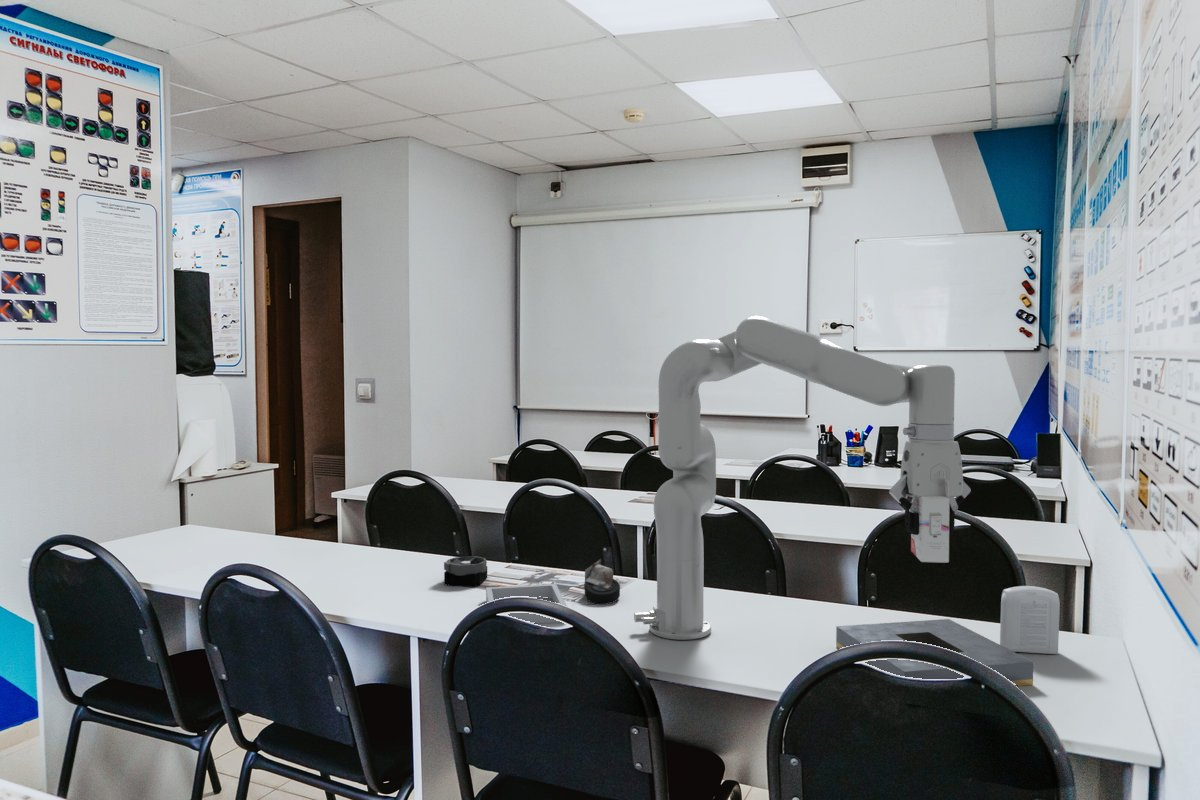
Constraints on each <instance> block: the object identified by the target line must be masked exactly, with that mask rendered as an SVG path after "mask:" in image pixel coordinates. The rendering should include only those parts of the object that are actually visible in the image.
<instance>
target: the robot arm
mask: <svg viewBox="0 0 1200 800" xmlns="http://www.w3.org/2000/svg"><path fill="white" fill-rule="evenodd" d="M762 364H763V365H766V366H768V367H772V368H774V369H777V370H780V371H783V372H786V373H789V374H790V375H793V376H796V377H798V378H802V379H804V380H806V381H809V382H811V383H812V384H813V383H814V384H818V385H820V386H824V387H826V388H829V389H832V390H834V391H837V392H840V393H841V394H844V395H847V396H850V397H853V398H856V399H857V400H861V401H862V402H863V401H864V402H866V403H869V404H872V405H875V406H880V407H889V406H892V405H896V404H901V403H903V404H904V403H908V424H907V425H908V426H907V427H903V429H902V433H903V435H905V436H907V438H908V440H905V443H904V447H903V451H902V457H901V466H900V475H899V476H900V477H899V479H898V480H897V481H896V483H894V484H893V486H892V487H891V488H890V489H889V490H888V493H889V495H890V496H891V497H892V498H893V499H894V500H895V501H896V503H898V505H899V506H900V507H901V509H902V510H903V511H904V528H905V532H906V533H909V534H910V535H911V534H913V535H918V534H919V513H917V512H916V510H917V507H918V505H919V498H921V497H925V496H945V497H946V490H945V480H944V479H946V480H948V488H949V502H950V504H949V534H954V532H955V530H954V529H955V525H956V524H955V523H956V522H955V518H956V516H955V514H956V513H955V512H957V511H958V509H959V507H960V505H961V504H962V503H963V502H964V501H965V499H966V497H967V496H968V495H970V493H971V492H972V491H971V487H970V486H969V485H968V484H967V483H966V482H965V481H964V475H963V474H964V471H963V460H962V454H961V450H960V445H959V442H958V441H955V434H954V433H955V424H954V423H955V390H956V389H955V384H956V383H955V381H956V380H955V379H956V376H955V374H956V373H955V370H954V368H953V367H952V366H950V365H944V364H941V365H940V364H923V365H921V364H920V365H915V366H908V365H901V364H900V365H899V364H893V363H886V362H882V361H879V360H876V359H873V358H871V357H868V356H865V355H862V354H858V353H856V352H853V351H851V350H849V349H846V348H843V347H841V346H839V345H837V344H835V343H834V342H832V341H830V340H829V339H827V338H825V337H822V336H820V335H817V334H813V333H811V332H808V331H805V330H802V329H798V328H796V327H793V326H790V325H787V324H784V323H781V322H779V321H776V320H775V319H772V318H768V317H764V316H759V315H755V316H750V317H747V318H744V319H743V320H742V321H741V322H740V323H739V325H738V326H737V327H736V329H735V331H733V332H731V333H728V334H726V335H723V336H720V337H719V338H716V339H713V340H712V339H705V338H704V339H703V338H702V339H701V338H700V339H693V340H690V341H686V342H684V343H683V344H681V345H678V346H677V347H676V348H675V349H673V350H672V351H671V352H670V353H669V354H668V355H667V356H666V358H665V359H664V361H663V363H662V365H661V367H660V371H659V376H658V455H659V459H660V461H661V463H662V465H664V466H665V467H666V468H667V469H669V470H671V471H672V473H673V474H672V475H673V476H672V478H670V479H669V480H666V481H664V483H662V485H660V486H659V488H658V489H657V491H656V493H655V495H654V499H653V514H654V515H653V516H654V520H655V531H656V605H653V606H652V610H649V611H648V612H634V614H633V619H634V620H633V621H634V623H642V624H643V625H649V631H650V633H652V634H653V635H655V636H657V637H659V638H664V639H670V640H677V641H684V640H685V641H687V640H688V641H689V640H697V639H701V638H704V637H706V636H708V635H710V634H711V632H712V625H711V624H710V623H709V622H708V621H707V620H705V619H704V591H705V590H704V586H705V585H704V568H705V567H704V565H705V563H704V562H705V561H704V548H705V547H704V534H703V527H702V519H701V518H702V516H703V515H705V514H707V513H708V512H709V511H710V510H711V509H712V508H713V506H714V503H715V500H716V496H717V467H716V466H717V460H716V459H717V458H716V457H717V452H716V451H717V450H716V443H715V439H714V437H713V434H712V432H711V431H710V429H709V428H707V426H705V425H704V424H703V423H701V400H700V399H701V398H700V391H699V388H700V385H701V384H702V383H705V382H719V381H722V380H725V379H728V378H730V377H733V376H735V375H738V374H739V373H740V374H741V373H742V372H745V371H748V370H749V369H753V368H754V367H757V366H759V365H762ZM904 495H905V496H904Z"/></svg>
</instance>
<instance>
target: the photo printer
mask: <svg viewBox="0 0 1200 800" xmlns="http://www.w3.org/2000/svg"><path fill="white" fill-rule="evenodd" d="M1000 600H1001V601H1000V627H999V628H1000V629H999V645H1001V646H1003V647H1005V648H1007V649H1009V650H1011V651H1013V652H1015V653H1017V652H1018V653H1031V654H1043V655H1044V654H1048V655H1049V654H1050V655H1057V654H1058V653H1059V633H1060V607H1061V606H1060V605H1061V604H1060V597H1059V594H1058V593H1057V592H1056V591H1053V590H1051V589H1049V588H1045V587H1040V586H1034V585H1033V586H1031V585H1019V586H1013V587H1008V588H1004V589H1003V590H1002V592H1001V599H1000Z"/></svg>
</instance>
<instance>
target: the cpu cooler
mask: <svg viewBox="0 0 1200 800" xmlns="http://www.w3.org/2000/svg"><path fill="white" fill-rule="evenodd" d="M487 563H488V562H487V559H486V557H482V556H475V555H473V556H471V555H470V556H469V555H468V556H458V557H457V556H456V557H453V558H450V559H447V560H446V561H445V562H443V570H445V571H444V572H443V575H444V576H443V577H444V580H443V581H444V583H443V584H444V585H445V586H450V587H476V586H479V587H481V585H482V584H483V583H484V582H485V581H486V580H487V579H488V566H487Z"/></svg>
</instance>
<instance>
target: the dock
mask: <svg viewBox="0 0 1200 800" xmlns="http://www.w3.org/2000/svg"><path fill="white" fill-rule="evenodd" d="M835 631H836V633H835V637H836V638H835V639H836V640H835V641H836V642H835V643H836V644H835V645H836V648H838V649H839V648H842V647H846V646H850V645H854V644H860V643H866V642H871V641H881V640H903V641H905V640H907V641H916V642H922V643H927V644H932V645H936V646H940V647H943V648H947V649H950V650H953V651H956V652H958V653H961V654H963V655H966V656H968V657H970V658H972V659H974V660H976V661H978V662H981V663H982V664H984V665H986V666H988V667H990V668H992V669H993V670H996V671H997V672H999V673H1000V674H1002V675H1003V676H1005V677H1006V678H1007V679H1009V680H1010V681H1012V682H1013V683H1015V684H1016V685H1018V686H1017V687H1023V686H1033V685H1034V661H1033V660H1031V659H1029V658H1028V657H1027V658H1026V657H1025V656H1023V655H1022V654H1019V653H1017V652H1013V651H1011V650H1009V649H1007V648H1005V647H1003V646H1001V645H1000V643H997V642H995V641H993V640H992V639H989V638H987V637H985V636H984V635H982V634H980V633H977V632H976V631H973V630H971V629H969V628H968V627H966V626H964V625H961V624H960V623H957V622H956V621H954V620H952V619H951V618H950V619H949V618H943V619H941V618H940V619H929V620H928V619H927V620H913V621H912V620H911V621H900V622H899V621H898V622H897V621H895V622H883V623H880V622H879V623H868V624H865V623H864V624H851V625H836V630H835ZM865 663H867V664H869V665H872V666H875V667H877V668H879V669H881V670H884V671H887V672H890V673H893V674H896V675H900V676H905V677H913V678H922V679H957V678H963V677H964V676H963V675H960V674H958V673H956V672H954V671H951V670H949V669H947V668H943V667H940V666H936V665H933V664H928V663H924V662H918V661H910V660H898V659H887V660H876V661H868V662H865Z"/></svg>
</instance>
